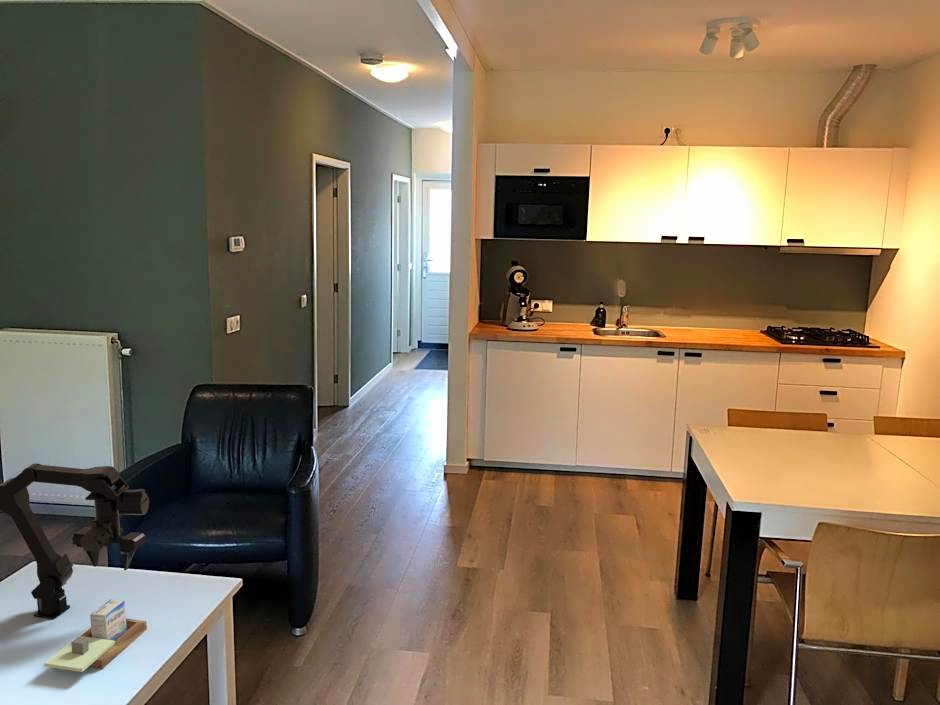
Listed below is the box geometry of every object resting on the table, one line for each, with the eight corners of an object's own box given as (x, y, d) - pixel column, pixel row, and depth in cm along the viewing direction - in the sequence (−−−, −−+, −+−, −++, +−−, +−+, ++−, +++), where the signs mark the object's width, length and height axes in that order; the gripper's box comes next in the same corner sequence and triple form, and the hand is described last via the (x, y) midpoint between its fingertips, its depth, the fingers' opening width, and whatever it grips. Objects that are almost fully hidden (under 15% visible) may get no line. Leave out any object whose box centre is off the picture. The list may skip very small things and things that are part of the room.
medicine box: (107, 647, 190) (105, 616, 189) (91, 645, 191) (89, 613, 190) (127, 630, 198) (125, 600, 196) (112, 628, 199) (109, 598, 197)
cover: (44, 666, 179) (43, 651, 178) (79, 638, 190) (78, 624, 190) (82, 671, 177) (81, 657, 176) (115, 643, 189) (114, 629, 188)
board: (58, 662, 185) (57, 653, 184) (106, 623, 202) (105, 615, 202) (102, 669, 183) (101, 660, 182) (146, 629, 200) (146, 621, 200)
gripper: (54, 522, 197) (59, 577, 200) (119, 529, 193) (122, 586, 196) (84, 506, 207) (88, 559, 210) (145, 512, 204) (148, 566, 207)
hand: (110, 567), depth 206 cm, fingers open, 9 cm apart
